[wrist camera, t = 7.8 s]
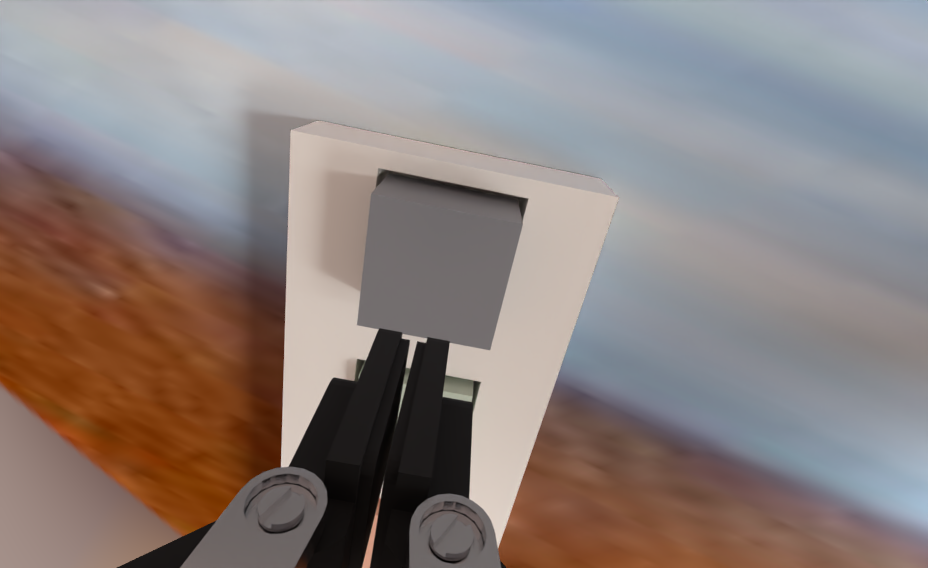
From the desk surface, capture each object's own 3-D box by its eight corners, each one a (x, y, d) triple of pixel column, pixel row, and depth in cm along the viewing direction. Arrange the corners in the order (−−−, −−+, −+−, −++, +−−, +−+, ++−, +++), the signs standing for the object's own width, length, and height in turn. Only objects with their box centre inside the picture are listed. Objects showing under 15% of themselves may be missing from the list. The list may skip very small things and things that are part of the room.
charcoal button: (517, 199, 18) (522, 224, 15) (489, 311, 20) (490, 350, 17) (388, 173, 18) (370, 193, 15) (374, 289, 20) (356, 325, 17)
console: (601, 178, 20) (619, 197, 17) (483, 544, 30) (482, 592, 27) (318, 120, 19) (290, 129, 17) (297, 512, 30) (278, 558, 27)
